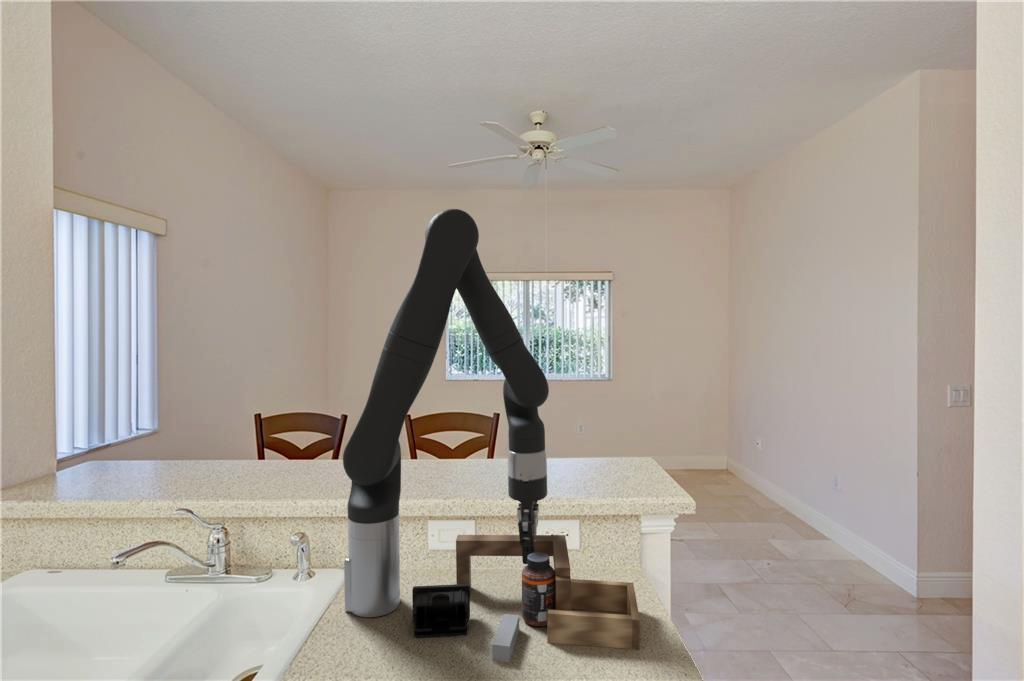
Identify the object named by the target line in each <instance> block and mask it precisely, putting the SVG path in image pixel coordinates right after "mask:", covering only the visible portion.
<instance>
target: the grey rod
mask: <svg viewBox="0 0 1024 681" xmlns="http://www.w3.org/2000/svg"><path fill="white" fill-rule="evenodd" d="M519 632H520V615H516V614H515V615H514V614H505V613H504V614H502V617H501V619H500V623H499V625H498V627H497V631H496V633H495V635H494V638H493V641H492V644H491V660H492V661H498V662H506V663H510V662H511V658H512V655H513V653H514V652H513V651H514V648H515V645H516V642H517V638H518V635H519Z"/></svg>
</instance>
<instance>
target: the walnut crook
mask: <svg viewBox="0 0 1024 681" xmlns="http://www.w3.org/2000/svg"><path fill="white" fill-rule="evenodd" d="M524 539H530V538H524ZM534 541H535V544H534V553H545V554H547V555H548V556H549V557H552V558H553V569H554V571H555V610H562V611H572V608H571V579H572V578H571V564H570V556H569V551H568V545H567V540H566V535H565V534H544V535H543V534H536V535H534ZM471 557H522V546H520V537H519V534H457V535H456V539H455V560H456V561H455V566H456V568H455V571H456V576H455V577H456V584H469V585H470V590H471V588H472V563H471V559H472V558H471Z"/></svg>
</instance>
